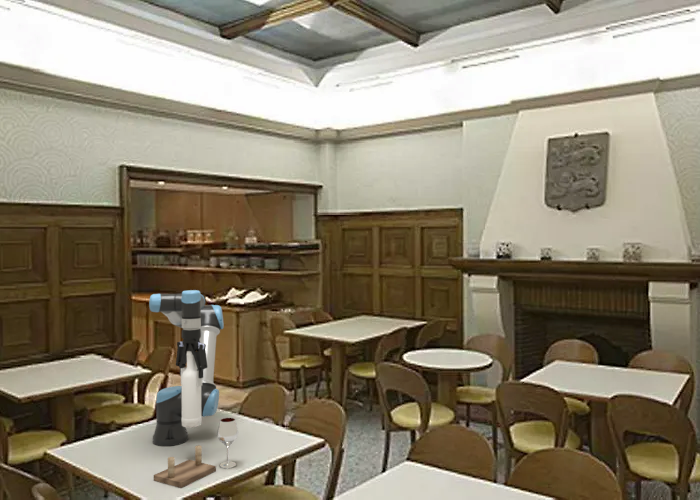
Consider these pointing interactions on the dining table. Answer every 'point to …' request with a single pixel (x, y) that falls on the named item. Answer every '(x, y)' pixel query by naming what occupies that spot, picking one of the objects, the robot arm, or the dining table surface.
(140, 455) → the dining table surface
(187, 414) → the bottle
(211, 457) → the dining table surface
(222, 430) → the wineglass
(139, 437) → the dining table surface
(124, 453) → the dining table surface
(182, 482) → the stand
